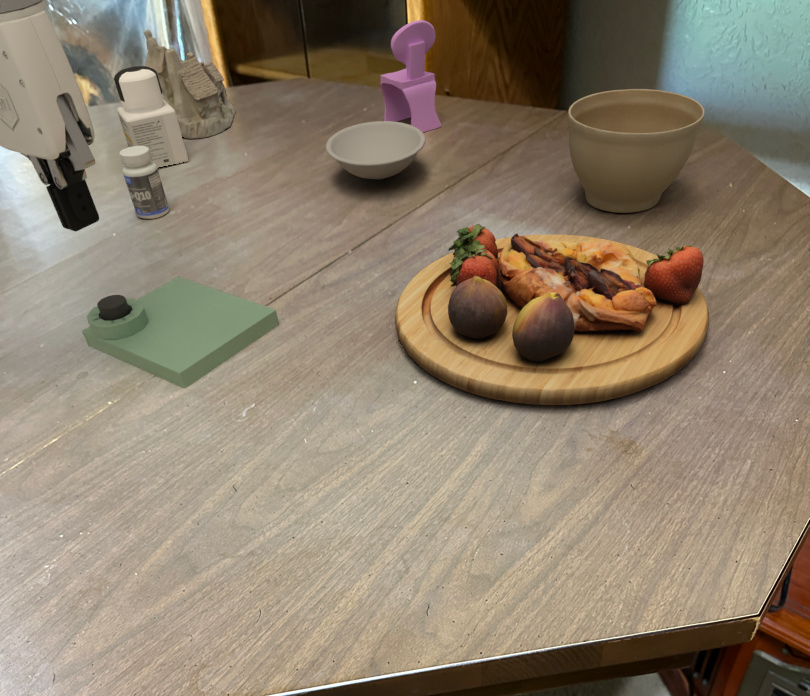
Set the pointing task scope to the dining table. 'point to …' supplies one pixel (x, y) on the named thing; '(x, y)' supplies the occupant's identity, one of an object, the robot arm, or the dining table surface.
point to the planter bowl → (631, 145)
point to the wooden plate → (553, 317)
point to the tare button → (113, 307)
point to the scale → (181, 330)
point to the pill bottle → (143, 182)
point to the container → (149, 116)
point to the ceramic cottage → (191, 91)
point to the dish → (376, 148)
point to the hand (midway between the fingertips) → (82, 224)
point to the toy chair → (411, 78)
